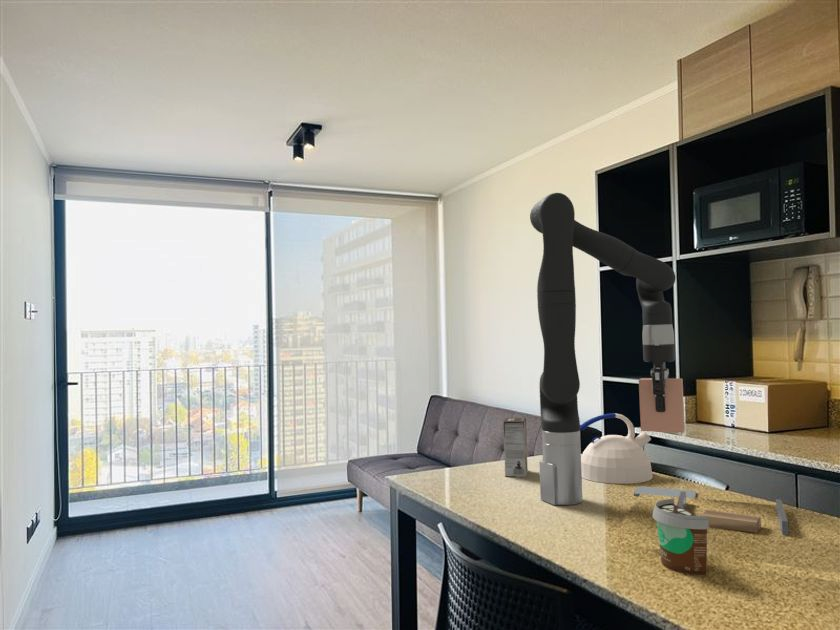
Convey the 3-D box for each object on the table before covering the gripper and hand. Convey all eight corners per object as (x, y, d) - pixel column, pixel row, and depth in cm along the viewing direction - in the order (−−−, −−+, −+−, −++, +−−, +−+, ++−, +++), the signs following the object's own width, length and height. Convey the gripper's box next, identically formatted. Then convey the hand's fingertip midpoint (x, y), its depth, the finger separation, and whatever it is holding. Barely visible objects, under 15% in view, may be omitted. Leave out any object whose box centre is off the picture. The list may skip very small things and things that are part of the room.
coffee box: (506, 470, 189) (505, 417, 190) (528, 470, 188) (526, 417, 189) (504, 476, 180) (503, 421, 181) (527, 477, 179) (525, 421, 180)
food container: (642, 554, 114) (640, 499, 114) (674, 552, 114) (672, 497, 115) (675, 580, 102) (672, 518, 102) (711, 578, 102) (708, 516, 103)
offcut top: (757, 532, 120) (756, 522, 120) (701, 525, 126) (701, 515, 126) (761, 526, 124) (760, 516, 124) (707, 519, 130) (706, 509, 130)
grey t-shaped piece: (694, 500, 149) (694, 498, 149) (633, 495, 156) (633, 493, 156) (696, 493, 157) (696, 490, 157) (638, 488, 163) (637, 486, 163)
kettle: (665, 483, 168) (662, 416, 169) (588, 485, 168) (586, 418, 169) (639, 468, 188) (637, 408, 189) (571, 469, 188) (569, 410, 189)
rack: (788, 542, 118) (787, 521, 118) (675, 530, 127) (674, 510, 127) (782, 518, 134) (781, 499, 134) (681, 509, 143) (680, 491, 143)
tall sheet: (683, 432, 153) (681, 379, 153) (640, 431, 157) (638, 379, 158) (684, 430, 156) (682, 378, 157) (642, 428, 161) (640, 378, 161)
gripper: (646, 342, 166) (649, 407, 165) (639, 343, 153) (642, 413, 152) (676, 342, 162) (679, 408, 162) (671, 343, 150) (675, 414, 149)
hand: (661, 410), depth 157 cm, fingers closed on tall sheet, 4 cm apart
